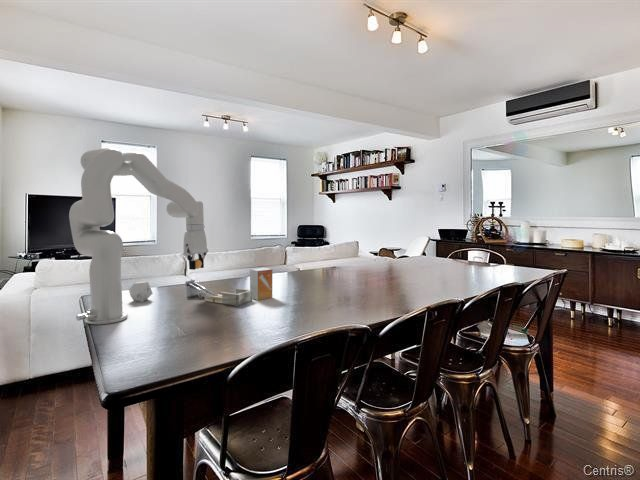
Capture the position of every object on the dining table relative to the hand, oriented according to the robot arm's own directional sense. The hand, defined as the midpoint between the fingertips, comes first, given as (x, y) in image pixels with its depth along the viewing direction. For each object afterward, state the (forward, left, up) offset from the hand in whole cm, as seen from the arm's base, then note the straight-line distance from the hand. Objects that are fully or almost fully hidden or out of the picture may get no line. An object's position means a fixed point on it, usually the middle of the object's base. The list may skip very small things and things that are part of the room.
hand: (196, 268), depth 163 cm
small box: (+11, -28, -13) cm, 33 cm away
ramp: (0, -4, -13) cm, 13 cm away
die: (-17, +15, -13) cm, 26 cm away
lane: (0, -18, -13) cm, 23 cm away
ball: (0, 0, +2) cm, 2 cm away
